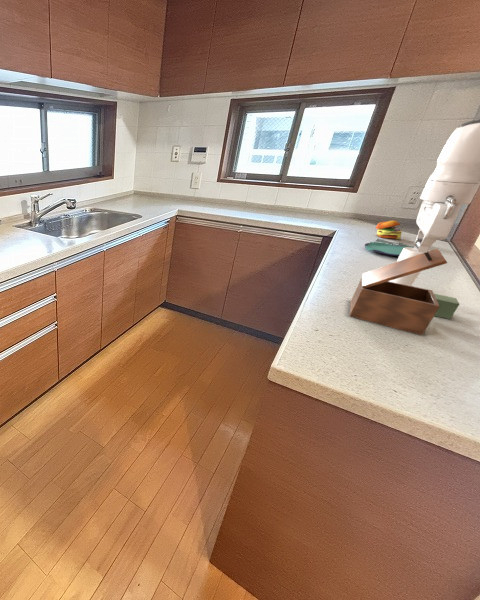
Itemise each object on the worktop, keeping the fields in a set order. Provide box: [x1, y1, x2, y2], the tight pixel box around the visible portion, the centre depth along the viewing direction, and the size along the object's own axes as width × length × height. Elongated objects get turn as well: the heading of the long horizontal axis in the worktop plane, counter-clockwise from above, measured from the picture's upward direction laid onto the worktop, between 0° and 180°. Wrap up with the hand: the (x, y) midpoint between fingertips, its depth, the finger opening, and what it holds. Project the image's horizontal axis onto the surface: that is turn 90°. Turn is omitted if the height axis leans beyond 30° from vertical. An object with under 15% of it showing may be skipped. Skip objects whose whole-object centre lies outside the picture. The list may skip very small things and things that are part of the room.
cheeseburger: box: [375, 219, 403, 240], centre depth 173 cm, size 10×11×10 cm
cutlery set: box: [364, 238, 416, 257], centre depth 152 cm, size 20×30×2 cm, turn 132°
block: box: [434, 293, 460, 320], centre depth 96 cm, size 5×5×5 cm
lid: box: [361, 240, 448, 288], centre depth 89 cm, size 16×13×5 cm
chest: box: [349, 277, 440, 336], centre depth 92 cm, size 16×13×9 cm
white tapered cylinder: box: [389, 247, 422, 286], centre depth 106 cm, size 7×7×15 cm
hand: (420, 248), depth 85 cm, fingers closed on lid, 5 cm apart
